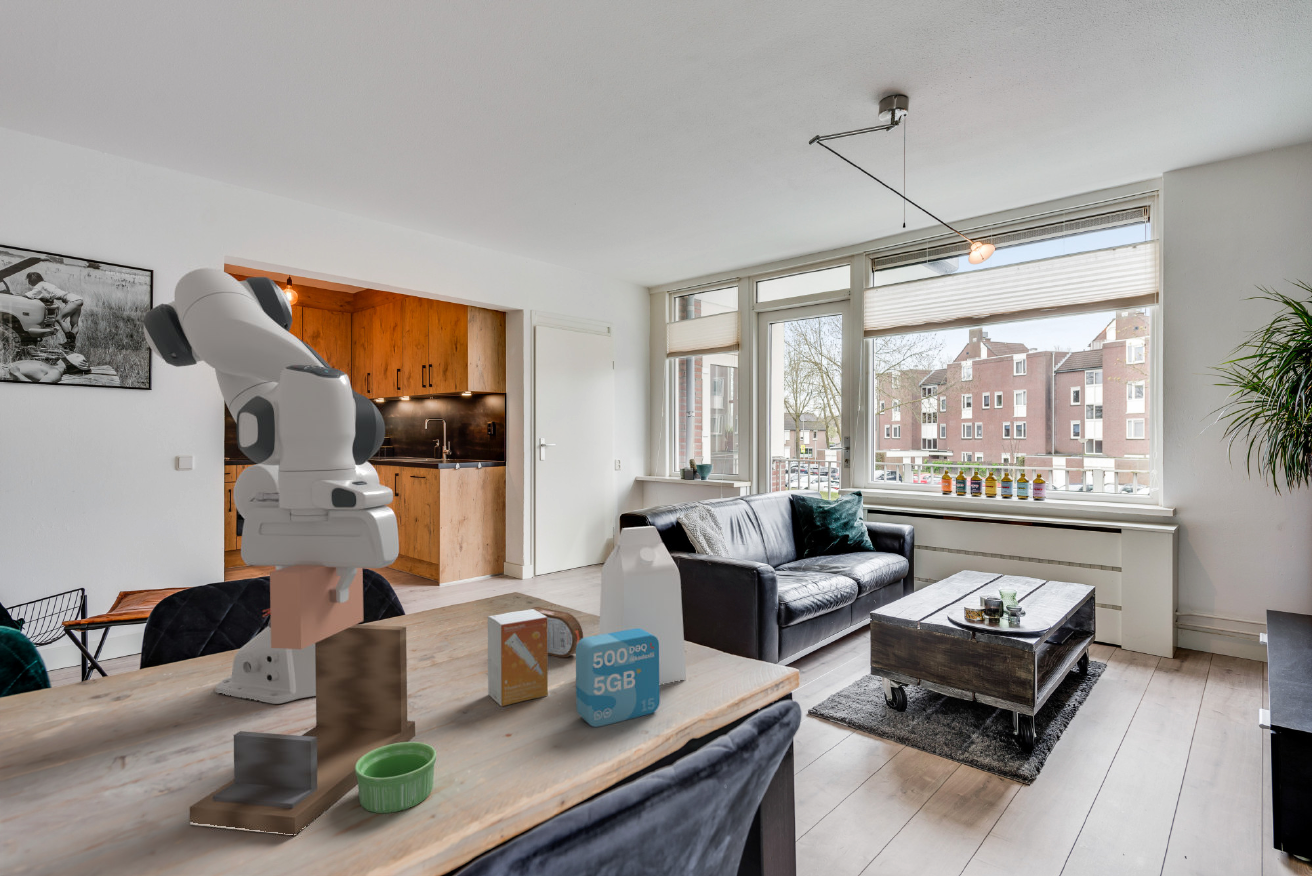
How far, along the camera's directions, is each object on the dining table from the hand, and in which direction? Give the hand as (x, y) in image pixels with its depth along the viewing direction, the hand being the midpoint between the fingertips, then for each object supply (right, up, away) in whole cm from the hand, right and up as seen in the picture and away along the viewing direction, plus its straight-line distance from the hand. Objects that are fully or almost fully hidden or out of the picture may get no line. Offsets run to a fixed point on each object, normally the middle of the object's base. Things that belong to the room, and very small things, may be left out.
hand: (320, 601), depth 84 cm
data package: (+37, -21, +16) cm, 46 cm away
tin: (+22, -21, +45) cm, 54 cm away
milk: (+40, -21, +33) cm, 56 cm away
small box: (+20, -22, +24) cm, 38 cm away
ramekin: (+12, -22, -6) cm, 26 cm away
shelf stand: (0, -22, 0) cm, 22 cm away
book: (0, -4, 0) cm, 4 cm away
